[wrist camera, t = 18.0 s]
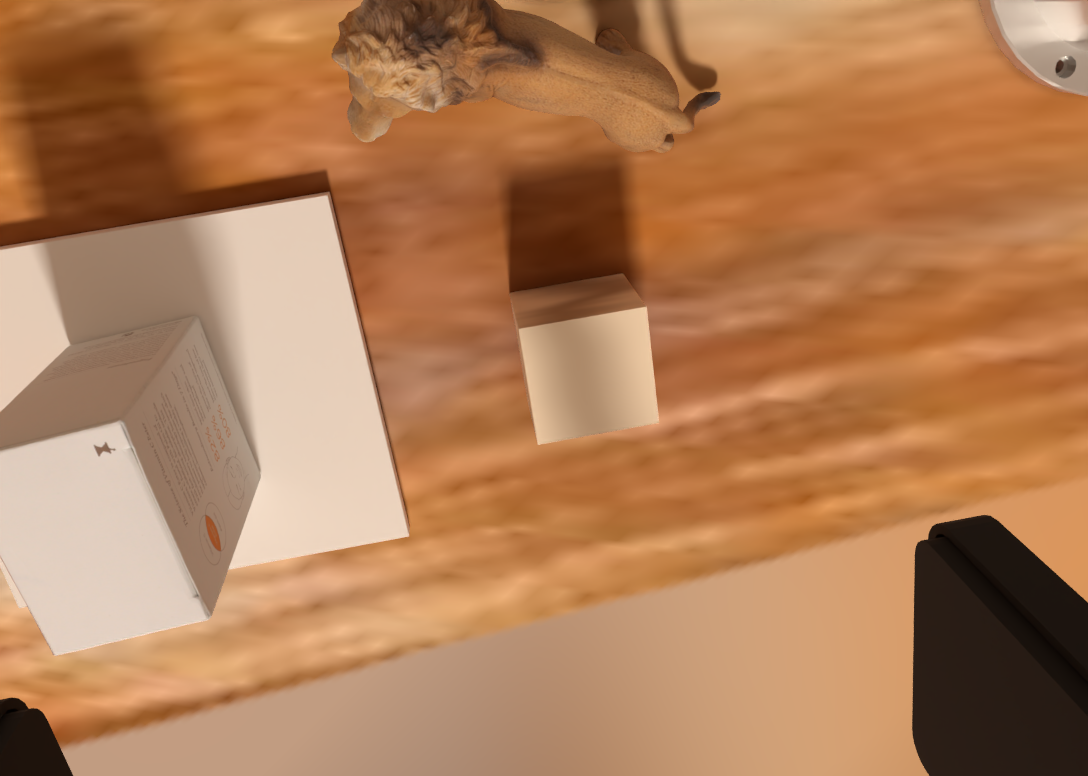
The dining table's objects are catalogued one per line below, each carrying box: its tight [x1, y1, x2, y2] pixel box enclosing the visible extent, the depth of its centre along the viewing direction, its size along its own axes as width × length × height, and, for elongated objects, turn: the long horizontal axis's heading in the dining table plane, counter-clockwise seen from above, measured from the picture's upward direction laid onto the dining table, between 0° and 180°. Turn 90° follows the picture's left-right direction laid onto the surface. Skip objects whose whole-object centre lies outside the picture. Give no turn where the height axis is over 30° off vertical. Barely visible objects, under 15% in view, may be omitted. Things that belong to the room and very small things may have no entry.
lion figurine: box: [332, 0, 721, 153], centre depth 32 cm, size 15×5×9 cm, turn 83°
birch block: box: [510, 273, 659, 445], centre depth 38 cm, size 5×5×5 cm
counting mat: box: [0, 192, 410, 608], centre depth 39 cm, size 18×16×1 cm
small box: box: [0, 316, 261, 656], centre depth 34 cm, size 8×6×10 cm
